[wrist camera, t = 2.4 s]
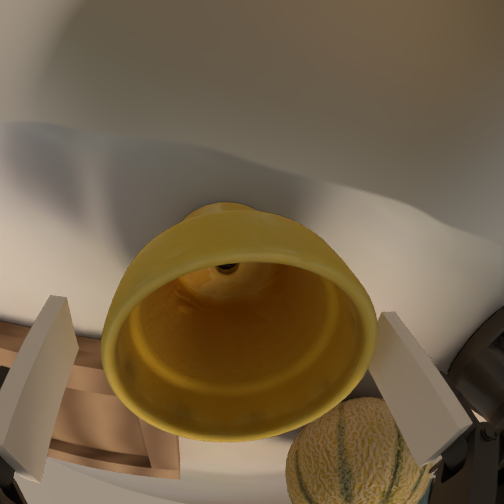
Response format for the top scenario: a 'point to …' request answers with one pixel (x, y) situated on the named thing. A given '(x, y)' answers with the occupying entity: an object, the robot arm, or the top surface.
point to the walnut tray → (99, 418)
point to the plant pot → (236, 327)
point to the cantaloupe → (354, 459)
